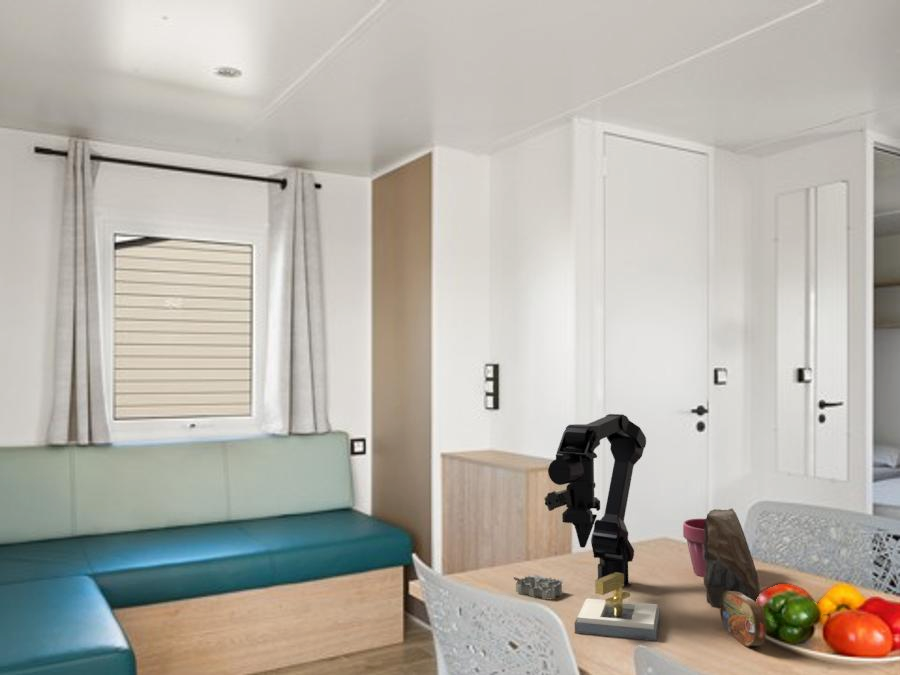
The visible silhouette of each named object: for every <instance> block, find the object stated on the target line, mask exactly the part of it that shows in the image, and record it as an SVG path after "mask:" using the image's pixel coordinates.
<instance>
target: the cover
mask: <svg viewBox="0 0 900 675" xmlns="http://www.w3.org/2000/svg"><path fill="white" fill-rule="evenodd" d="M622 603H623V608H625V609H634V612H633V616H632V619H631V620H628V619H617V618H606V617H602V616H603V613H604V611H605V608H606V607H613V608H614V604H612V605H609V604H606V599H599V598H598V599H597V598H586V599H585V600H584V602H583V604H582V606H583V607H582V606H581V608H582V609H581V608H580V610H579V613H578V615H577V617H576V619H577V622H580V623H590V624H601V625H612V626H623V627H633V628H644V629H654V625H655V619H656V613H657V608H658V604H657V603H645V602H633V601H632V602H631V601H623V600H622Z"/></svg>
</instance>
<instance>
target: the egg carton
mask: <svg viewBox="0 0 900 675" xmlns="http://www.w3.org/2000/svg"><path fill="white" fill-rule="evenodd" d="M513 580H514V581H516V583H515V592H516V593H517V594H518V595H521V596H522V595H529V598H530V597H532V598H535V597H536V596H537V597H538V596H541V597H540V598H542V600H545V599H547V598H551V599H550V600H554V598H556V596H555V595H560V596H562V595H563V585H562V584H563V582H564V580H565V579H558V578H557V579H556V578H552V577H551V576H550V577H545V576H544V577H543V576H541V575H538V574H531V575H528V576H524V578H523V577H521V578H518V577H517V576H514V577H513ZM537 597H536V598H537ZM538 598H539V597H538ZM547 600H548V599H547Z"/></svg>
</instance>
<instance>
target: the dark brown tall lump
mask: <svg viewBox="0 0 900 675" xmlns="http://www.w3.org/2000/svg"><path fill="white" fill-rule="evenodd" d="M705 519H706V520H705V522H704V524H705V528H704V531H705V544H704V547H705V548H704V549H705V552H704V558H705V565H706V571H705V573H704V577H703V585H704V588H705V591H706V602H707V604H709V605H710V606H711V608H714V609H715V608H716V609H720V602H721V597H722V595H723V593H724V592H725V591H736V592H740V593H742V594H744V595H745V596H747V597H749V598H750V599H752V600H754V601H755V602H756V599H757V597H758V596H759V594H760V593H761V592H762V589H761V586H760V582H759V577H758V576H759V575H758V573H757V570H756V569H757V568H756V567H755V562H754V560H753V556H752V553H751V550H750V548H749V544H748V541H747V538H746V535H745V532H744V529H743V527H742V524H741V522H740V519H739V517H738V515H737V513H736V512H735V510H734V508H731V507H730V508H729V509H720V508H718V509H716V508H714V509H712V510H710V511H709V512H708V513H707V514H706V518H705Z"/></svg>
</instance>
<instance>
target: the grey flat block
mask: <svg viewBox="0 0 900 675" xmlns="http://www.w3.org/2000/svg"><path fill="white" fill-rule="evenodd" d="M582 607H583V605H582V606H581V608H580V610H581V609H582ZM633 612H634V609H625V608H623V615H622V616H616V615H614V608H613V607H606V608H605V611H604V613H603V616H602V617H606V618H617V619H628V620H631V619H632V616H633ZM660 620H661V610H660V608H659V607H657V613H656V619H655V625H654V629H644V628H633V627H623V626H612V625H601V624H590V623H580V622H577V618H576V619H575V622H574V633H575V634H581V633H585V634H584V635H592V634H594V635H593V636H602V635H604V636H603V637H614V638H622V639H623V638H625V639H635V640H642V641H643V640H645V641H657V640H658V633H659V632H658V631H659V627H660V626H659V625H660ZM595 634H596V635H595Z"/></svg>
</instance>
